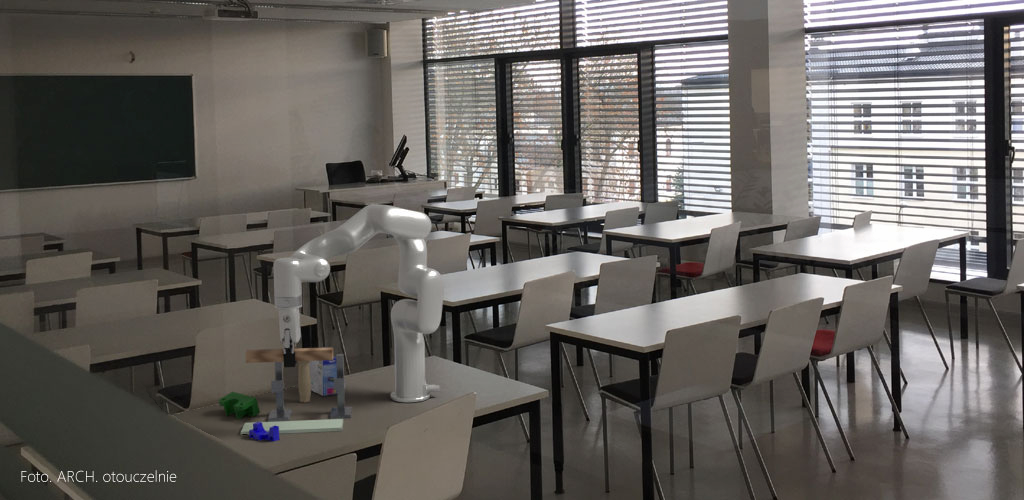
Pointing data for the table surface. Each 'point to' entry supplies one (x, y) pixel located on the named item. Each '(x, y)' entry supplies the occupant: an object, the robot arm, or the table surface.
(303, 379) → the handle
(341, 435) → the table surface
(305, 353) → the rail
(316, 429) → the board
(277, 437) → the cable holder
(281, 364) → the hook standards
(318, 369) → the ink cartridge box
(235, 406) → the clamp
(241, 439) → the table surface
